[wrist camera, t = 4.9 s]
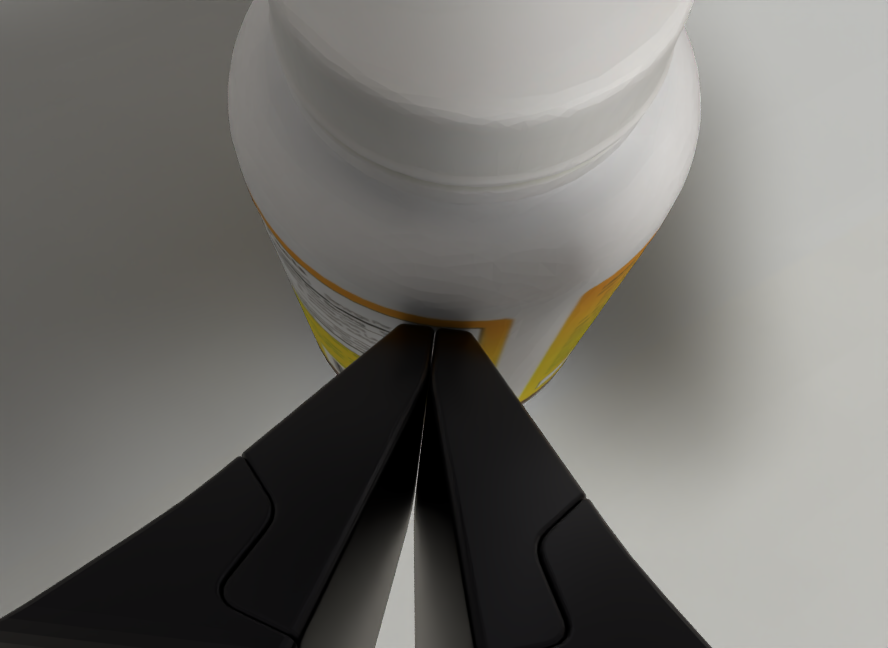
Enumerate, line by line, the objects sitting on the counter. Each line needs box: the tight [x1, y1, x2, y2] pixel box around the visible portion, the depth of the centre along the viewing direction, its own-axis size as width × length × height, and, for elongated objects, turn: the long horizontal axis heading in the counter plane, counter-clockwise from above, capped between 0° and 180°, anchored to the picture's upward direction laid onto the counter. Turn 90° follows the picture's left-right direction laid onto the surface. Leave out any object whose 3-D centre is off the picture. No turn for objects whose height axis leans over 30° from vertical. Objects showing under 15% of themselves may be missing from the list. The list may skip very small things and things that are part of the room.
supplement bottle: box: [228, 0, 701, 418], centre depth 12 cm, size 6×6×10 cm
